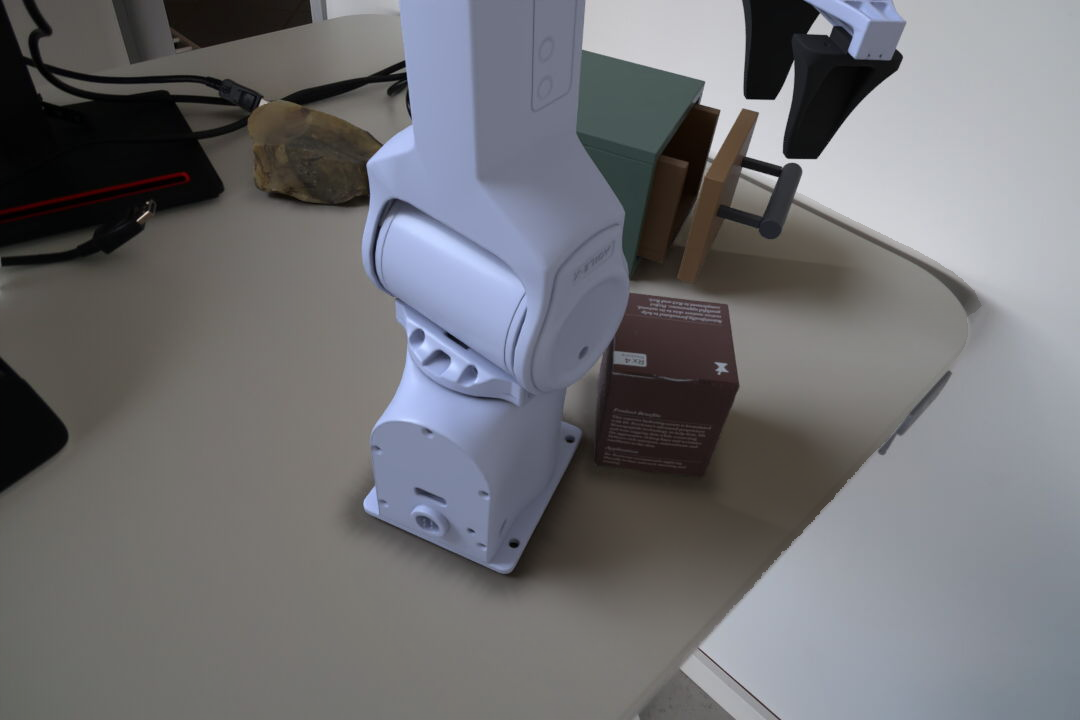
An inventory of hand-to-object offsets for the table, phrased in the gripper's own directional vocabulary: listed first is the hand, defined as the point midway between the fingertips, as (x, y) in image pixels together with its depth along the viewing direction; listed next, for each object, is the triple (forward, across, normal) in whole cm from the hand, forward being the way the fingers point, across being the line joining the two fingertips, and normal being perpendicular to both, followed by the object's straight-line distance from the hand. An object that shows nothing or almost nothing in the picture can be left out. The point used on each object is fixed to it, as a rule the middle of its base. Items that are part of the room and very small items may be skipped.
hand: (778, 125), depth 47 cm
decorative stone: (+10, +10, +31) cm, 34 cm away
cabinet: (+10, +5, +12) cm, 16 cm away
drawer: (+9, +1, +6) cm, 11 cm away
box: (+10, -17, +11) cm, 22 cm away
